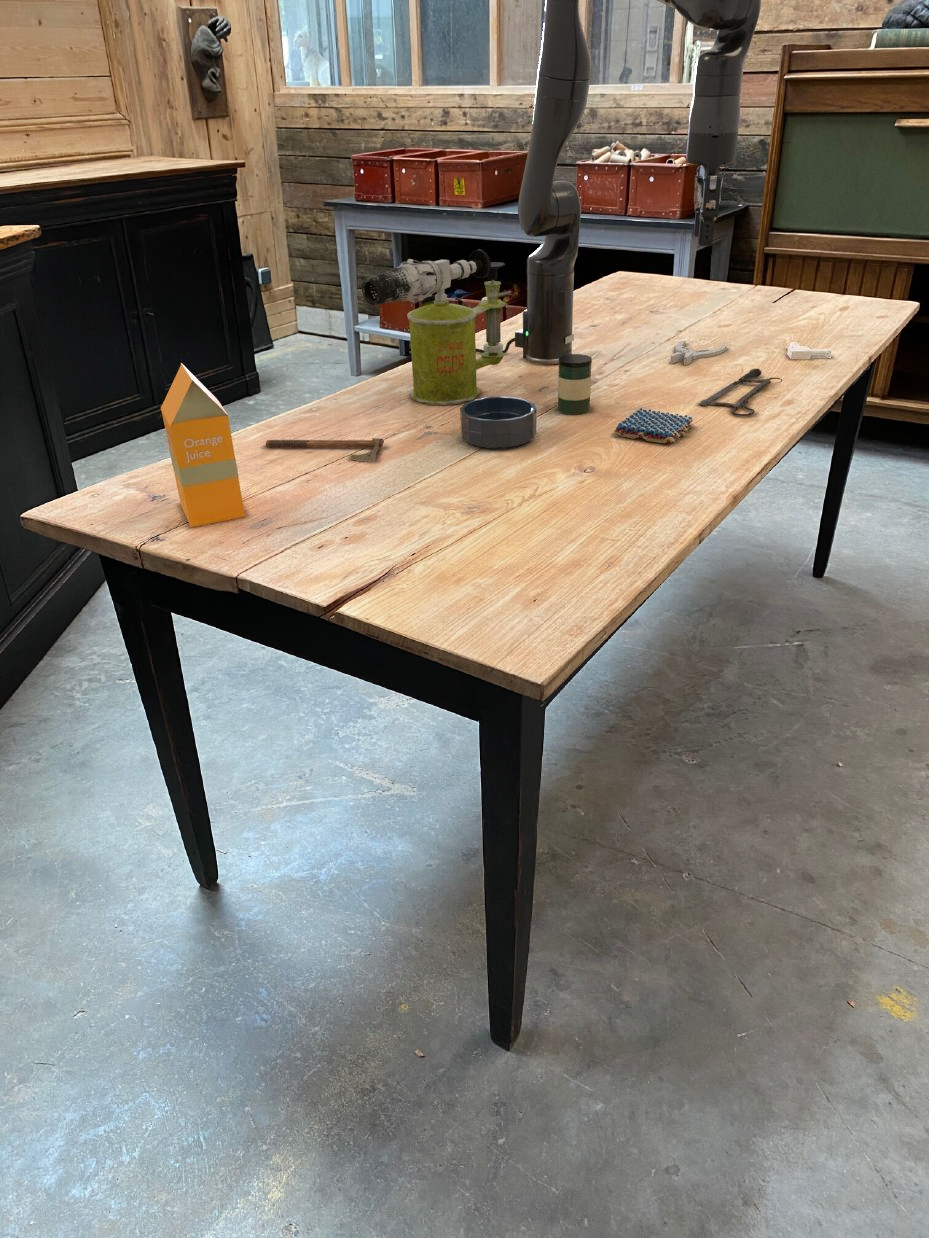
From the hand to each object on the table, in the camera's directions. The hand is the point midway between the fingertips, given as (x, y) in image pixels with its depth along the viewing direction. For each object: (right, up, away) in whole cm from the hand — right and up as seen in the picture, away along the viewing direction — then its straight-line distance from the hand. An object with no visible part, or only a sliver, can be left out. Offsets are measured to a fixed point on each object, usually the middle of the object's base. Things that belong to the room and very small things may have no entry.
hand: (702, 240), depth 153 cm
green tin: (-20, -25, +13) cm, 34 cm away
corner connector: (+31, -8, +37) cm, 49 cm away
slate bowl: (-33, -32, +2) cm, 46 cm away
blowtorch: (-42, -20, +23) cm, 52 cm away
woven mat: (-8, -31, +2) cm, 32 cm away
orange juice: (-75, -46, -20) cm, 90 cm away
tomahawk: (-61, -34, 0) cm, 70 cm away
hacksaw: (+13, -21, +16) cm, 30 cm away
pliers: (+8, -8, +40) cm, 41 cm away
